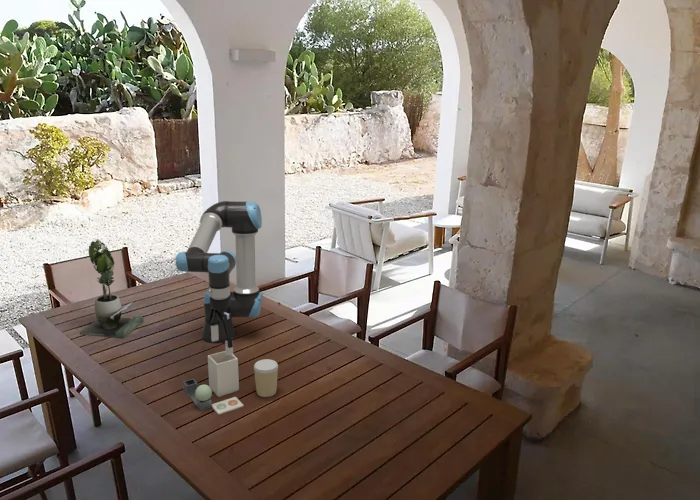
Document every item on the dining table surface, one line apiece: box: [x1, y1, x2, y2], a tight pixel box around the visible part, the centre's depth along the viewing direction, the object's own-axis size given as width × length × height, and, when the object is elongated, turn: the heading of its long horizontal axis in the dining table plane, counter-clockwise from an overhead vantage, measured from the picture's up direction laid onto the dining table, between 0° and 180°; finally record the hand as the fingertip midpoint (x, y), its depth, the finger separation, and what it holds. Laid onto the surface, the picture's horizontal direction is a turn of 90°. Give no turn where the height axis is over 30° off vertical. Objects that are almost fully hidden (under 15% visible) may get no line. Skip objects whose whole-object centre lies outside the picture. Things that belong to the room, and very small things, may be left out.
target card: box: [211, 396, 245, 415], centre depth 215 cm, size 10×7×1 cm
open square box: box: [207, 350, 240, 398], centre depth 224 cm, size 9×9×14 cm
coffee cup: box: [253, 358, 279, 398], centre depth 223 cm, size 9×9×12 cm
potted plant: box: [79, 238, 144, 339], centre depth 269 cm, size 22×19×45 cm
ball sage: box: [195, 384, 213, 401], centre depth 213 cm, size 6×6×6 cm
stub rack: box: [182, 378, 213, 412], centre depth 220 cm, size 5×19×3 cm, turn 36°
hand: (222, 347), depth 221 cm, fingers open, 13 cm apart
